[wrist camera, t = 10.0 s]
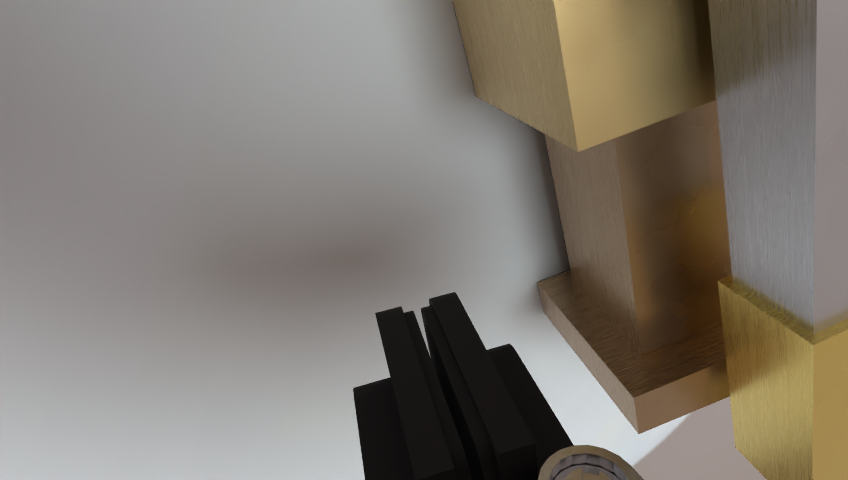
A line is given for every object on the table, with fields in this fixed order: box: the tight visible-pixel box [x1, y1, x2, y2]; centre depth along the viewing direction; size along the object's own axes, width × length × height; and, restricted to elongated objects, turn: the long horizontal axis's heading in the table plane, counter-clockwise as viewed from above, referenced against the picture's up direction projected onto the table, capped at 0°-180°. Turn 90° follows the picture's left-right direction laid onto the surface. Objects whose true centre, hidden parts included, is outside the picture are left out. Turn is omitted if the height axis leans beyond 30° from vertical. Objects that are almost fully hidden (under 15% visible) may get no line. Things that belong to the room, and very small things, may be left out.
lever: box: [708, 0, 848, 480], centre depth 9 cm, size 16×4×2 cm, turn 21°
